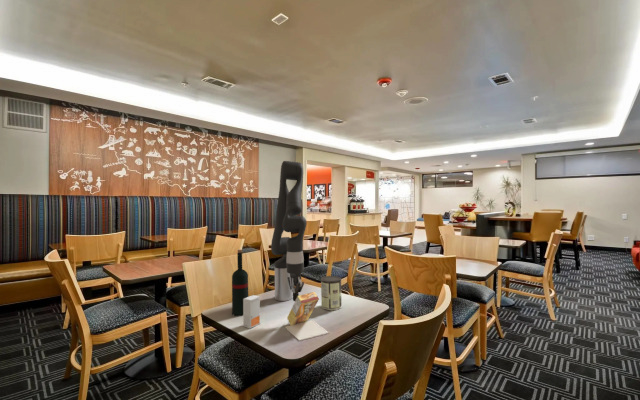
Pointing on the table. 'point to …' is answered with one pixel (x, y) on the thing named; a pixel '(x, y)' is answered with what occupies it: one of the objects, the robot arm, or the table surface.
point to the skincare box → (251, 311)
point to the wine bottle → (239, 287)
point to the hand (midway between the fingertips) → (295, 300)
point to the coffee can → (331, 292)
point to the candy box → (302, 308)
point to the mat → (306, 330)
